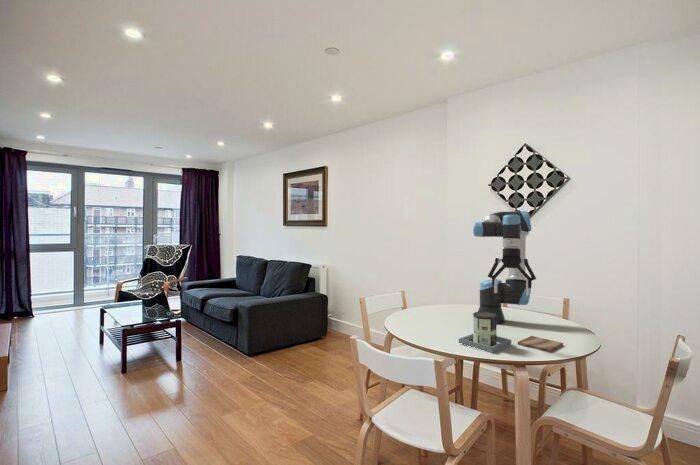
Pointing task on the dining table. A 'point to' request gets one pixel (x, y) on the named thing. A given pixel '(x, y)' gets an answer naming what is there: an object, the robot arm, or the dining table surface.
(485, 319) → the coffee can
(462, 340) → the grey flat open frame
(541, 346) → the walnut board
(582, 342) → the dining table surface
